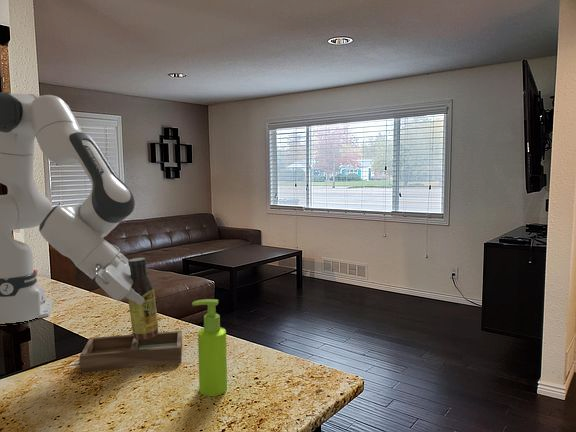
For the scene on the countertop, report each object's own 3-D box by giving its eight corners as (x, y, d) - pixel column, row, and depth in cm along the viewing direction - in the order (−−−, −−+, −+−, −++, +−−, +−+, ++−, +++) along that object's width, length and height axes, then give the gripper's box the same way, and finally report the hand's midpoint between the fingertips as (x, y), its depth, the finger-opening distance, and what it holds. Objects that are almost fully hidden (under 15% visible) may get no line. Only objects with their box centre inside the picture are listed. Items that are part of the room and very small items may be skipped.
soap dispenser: (196, 383, 99) (194, 296, 96) (227, 382, 99) (226, 295, 97) (192, 397, 93) (190, 305, 90) (226, 396, 93) (224, 304, 91)
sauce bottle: (151, 341, 108) (140, 262, 105) (128, 341, 109) (116, 263, 106) (164, 330, 114) (154, 255, 111) (142, 330, 115) (131, 256, 112)
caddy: (90, 352, 114) (89, 337, 114) (182, 345, 119) (181, 330, 119) (80, 372, 104) (79, 356, 103) (181, 363, 109) (180, 347, 108)
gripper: (101, 260, 97) (149, 301, 100) (116, 244, 117) (156, 278, 120) (80, 281, 97) (129, 321, 100) (99, 261, 116) (140, 295, 120)
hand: (144, 297), depth 110 cm, fingers closed on sauce bottle, 6 cm apart
